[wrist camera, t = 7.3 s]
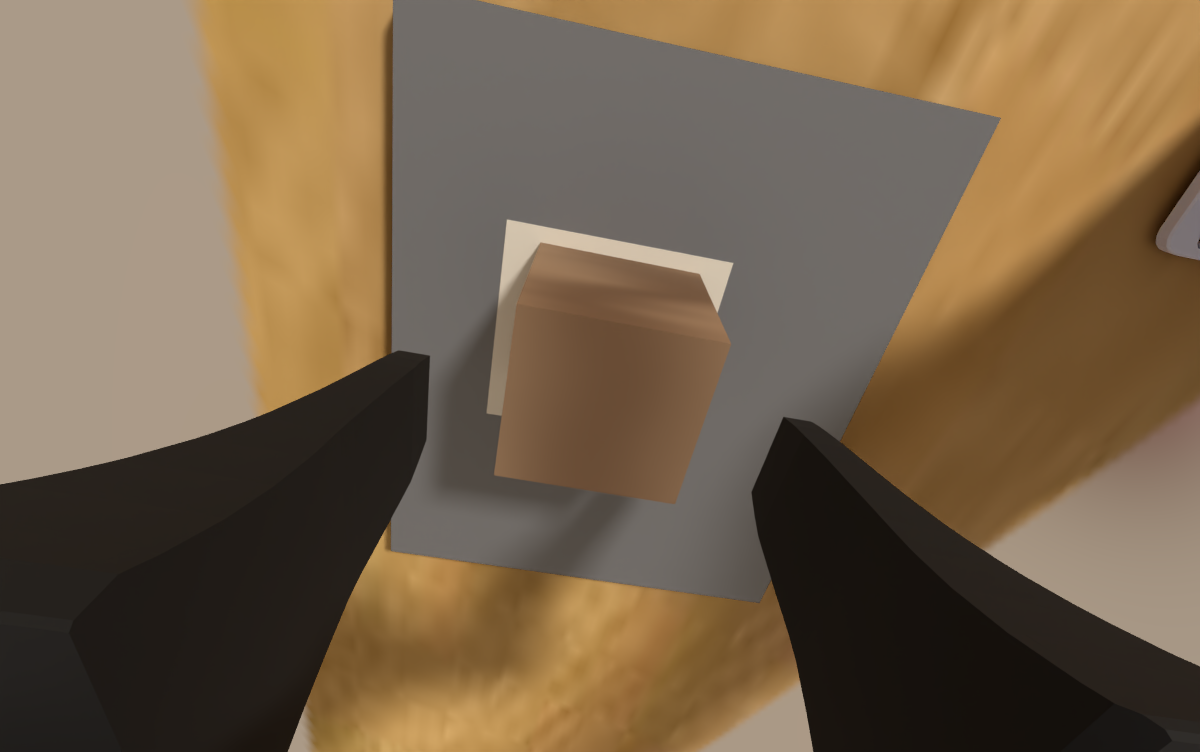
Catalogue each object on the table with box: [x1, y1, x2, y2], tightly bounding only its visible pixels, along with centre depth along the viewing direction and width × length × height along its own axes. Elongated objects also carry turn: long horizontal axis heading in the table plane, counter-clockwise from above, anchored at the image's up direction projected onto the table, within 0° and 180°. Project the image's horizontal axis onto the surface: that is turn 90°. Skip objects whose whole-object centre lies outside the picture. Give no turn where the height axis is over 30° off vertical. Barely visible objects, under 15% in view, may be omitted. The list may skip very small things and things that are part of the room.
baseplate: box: [391, 0, 1001, 603], centre depth 16 cm, size 13×16×1 cm
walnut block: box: [494, 242, 731, 504], centre depth 13 cm, size 4×4×4 cm
